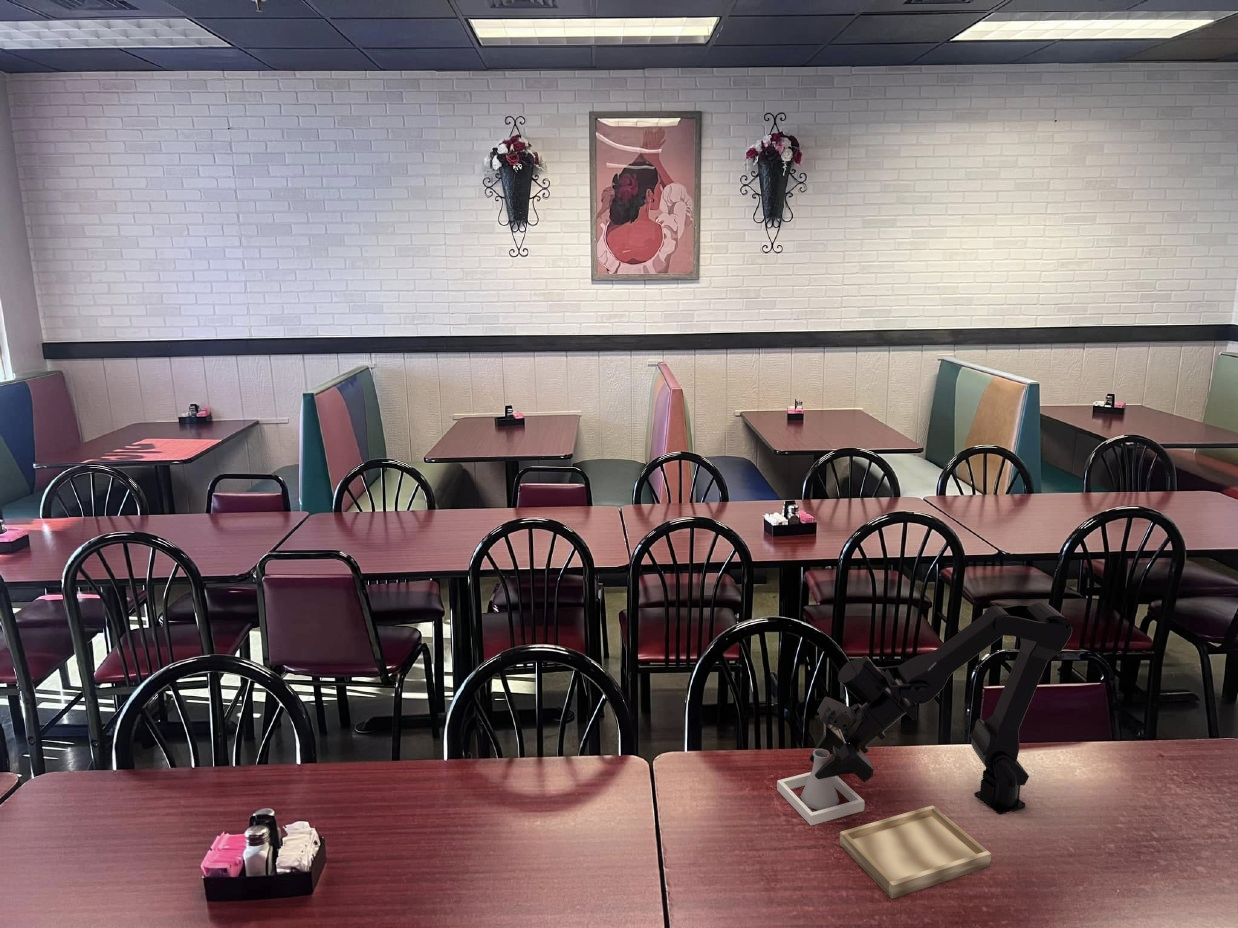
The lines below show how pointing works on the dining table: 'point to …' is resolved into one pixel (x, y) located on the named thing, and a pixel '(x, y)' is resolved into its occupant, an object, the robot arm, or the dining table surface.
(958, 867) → the serving tray
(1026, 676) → the robot arm
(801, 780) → the white square frame
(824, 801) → the flask
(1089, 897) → the dining table surface
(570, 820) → the dining table surface
